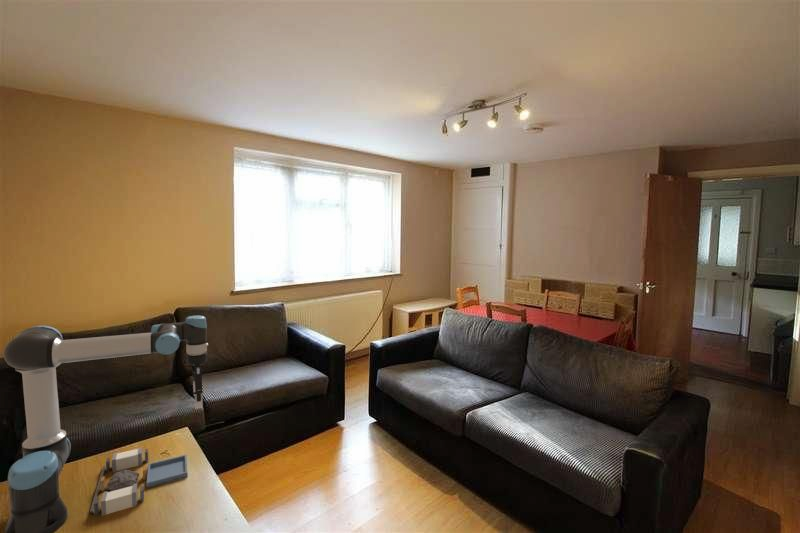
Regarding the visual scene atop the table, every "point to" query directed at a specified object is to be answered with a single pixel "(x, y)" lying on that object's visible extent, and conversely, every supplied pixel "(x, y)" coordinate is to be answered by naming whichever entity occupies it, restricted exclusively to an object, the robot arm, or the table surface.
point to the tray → (167, 470)
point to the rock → (122, 480)
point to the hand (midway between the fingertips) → (197, 401)
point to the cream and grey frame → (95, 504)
